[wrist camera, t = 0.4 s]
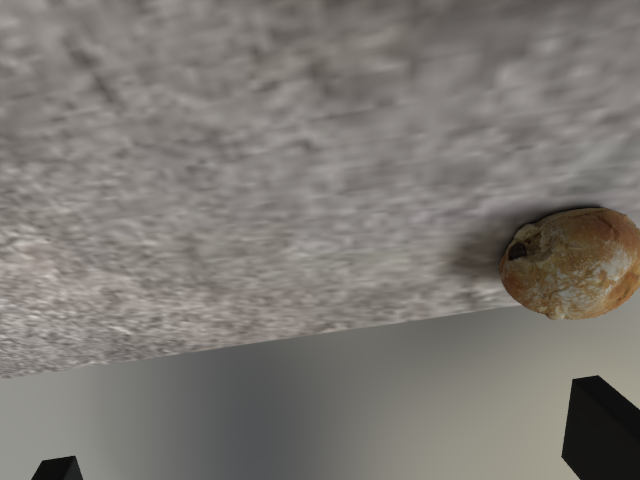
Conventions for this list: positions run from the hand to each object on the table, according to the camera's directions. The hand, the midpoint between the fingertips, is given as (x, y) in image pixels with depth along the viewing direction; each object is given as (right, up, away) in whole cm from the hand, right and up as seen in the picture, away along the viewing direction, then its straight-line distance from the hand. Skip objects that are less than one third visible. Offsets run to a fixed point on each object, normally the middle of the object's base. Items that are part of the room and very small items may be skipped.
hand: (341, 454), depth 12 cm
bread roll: (+19, +6, +24) cm, 31 cm away
